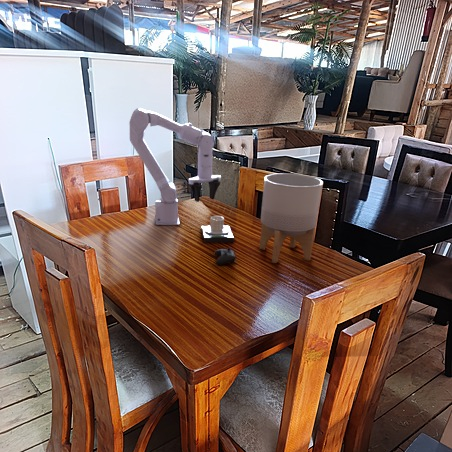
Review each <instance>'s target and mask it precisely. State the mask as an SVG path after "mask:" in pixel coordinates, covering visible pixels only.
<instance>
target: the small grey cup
mask: <svg viewBox="0 0 452 452" xmlns="http://www.w3.org/2000/svg"><path fill="white" fill-rule="evenodd" d="M209 226H210V229H211V230H213V231H222V230H223V229H224V226H225V217H224V216H221V215H213V216H210V219H209Z"/></svg>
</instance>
